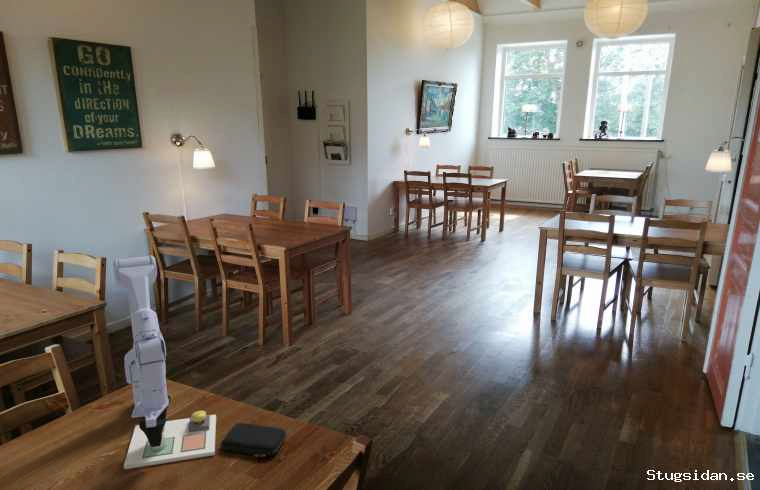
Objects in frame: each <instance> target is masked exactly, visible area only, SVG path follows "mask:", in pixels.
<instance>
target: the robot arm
mask: <svg viewBox="0 0 760 490" xmlns="http://www.w3.org/2000/svg"><path fill="white" fill-rule="evenodd" d="M112 266H113V267H112V268H113V275H114V281H115V286H116V287H117V288H118V289H123V290H125V292H126V294H127V296H128V304H129V312H130V322H131V330H132V331H131V332H132V338H133V345H132V346H133V347H132V348H131V349H130V350H129V351H128V352H127V353H126V354H125V355H124V357H123V358H124V370H125V371H124V372H125V378H126V379H125V380H126V383H128V384H129V385H132V396H133V404H134V407H133V410H132V413H131V419H135V418H136V419H137V418H143V417H144V418H145V419H143V420H140V421H139V424H138V425H139V427H140V429H141V430H142V431H143V432H144V433H145V435H146V437H147V439H148V441H149V444H150V446H151V447H156V446H160V445H161V441H162V430H163V427H164V426H165V423H166V421H167V410H168V407H169V405H170V402H171V396H170V395H168V389H167V388H168V387H167V378H166V374H167V369H166V368H167V367H166V359H167V349H166V342H165V340H164V337H163V334H162V332H161V330H160V326H159V325H160V324H159V319H158V314H157V312H156V311H154V310H153V309H151V303H150V302H151V300H150V286H151V285H154V284H155V281H156V279H157V277H158V267H157V261H156V258H155V257H154V255H152V254H150V255H148V256H147V255H145V256H140V257H139V256H138V257H137V256H136V257H129V258H128V257H127V258H119V259H118V258H115V259H114V260H113V261H112Z"/></svg>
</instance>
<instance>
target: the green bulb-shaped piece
mask: <svg viewBox="0 0 760 490" xmlns="http://www.w3.org/2000/svg"><path fill="white" fill-rule="evenodd" d="M165 447H166V439H165V426H164V427H163V430H162V441H161V445H160V446H156V447H151V450H152V451H161V450H163V449H164V448H165Z"/></svg>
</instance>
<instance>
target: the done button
mask: <svg viewBox="0 0 760 490" xmlns="http://www.w3.org/2000/svg"><path fill="white" fill-rule="evenodd" d="M206 415H207V412H206V411H205V410H196V411H194V412H193V413H191V417H192V421H194V422H196V423H201V422H202V421H203V420H205V419H206Z"/></svg>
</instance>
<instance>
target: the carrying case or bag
mask: <svg viewBox="0 0 760 490" xmlns="http://www.w3.org/2000/svg"><path fill="white" fill-rule="evenodd" d="M286 432H287V431H285V430H284V429H283V428H281V427H276V426H275V427H274V426H268V425H261V424H254V423H253V424H251V423H244V422H238V423H235V424H234V426H232V428H231V429H230V430H229V431H228V432H227V434H226V435H225V436H224V437H223V439H222V440H221V442H220V446H221V448H222V449H223V450H224V451H227V452H228V451H229V452H233V453H234V452H235V453H241V454H249V455H253V457H254V458H262V457H263V458H264V457H265V458H267V457H272V456H274V455H275V454H276V453H277V452H278V451H279V449H280V448H281V445H282V444H283V442H284V441H285V439H286V437H287V433H286Z"/></svg>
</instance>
